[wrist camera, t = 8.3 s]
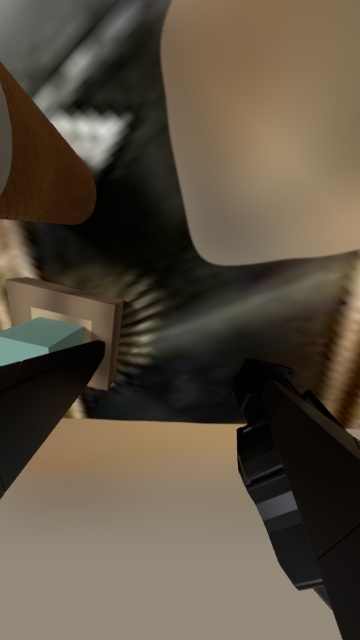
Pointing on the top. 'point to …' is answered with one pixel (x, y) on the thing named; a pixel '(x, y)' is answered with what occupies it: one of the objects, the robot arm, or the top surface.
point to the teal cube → (37, 339)
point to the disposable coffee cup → (38, 164)
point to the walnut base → (71, 316)
